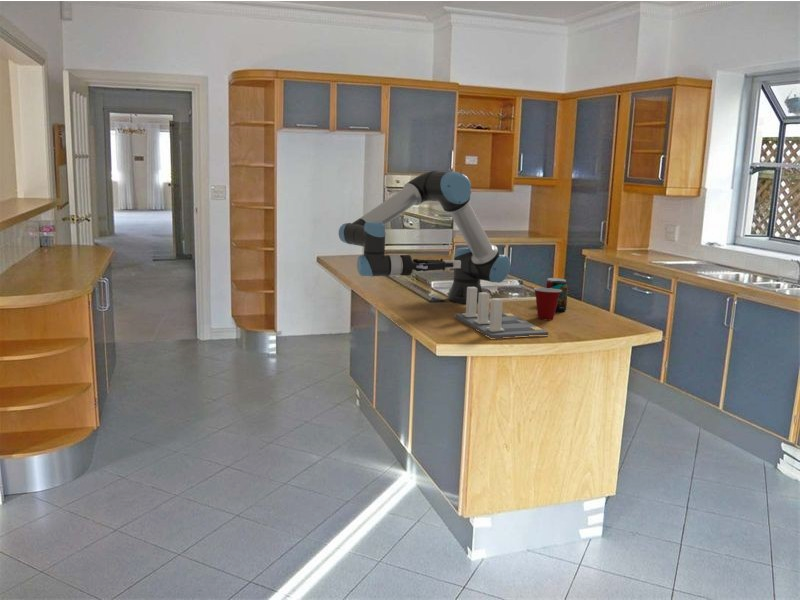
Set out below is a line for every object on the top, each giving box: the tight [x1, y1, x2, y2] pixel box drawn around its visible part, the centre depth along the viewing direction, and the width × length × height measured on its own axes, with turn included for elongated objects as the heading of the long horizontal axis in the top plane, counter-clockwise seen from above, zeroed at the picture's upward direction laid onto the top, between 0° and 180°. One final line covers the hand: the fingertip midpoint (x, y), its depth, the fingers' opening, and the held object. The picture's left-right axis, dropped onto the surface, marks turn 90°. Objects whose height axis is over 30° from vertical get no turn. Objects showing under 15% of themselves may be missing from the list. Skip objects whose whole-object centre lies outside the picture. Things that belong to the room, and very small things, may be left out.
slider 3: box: [486, 297, 504, 332], centre depth 247 cm, size 4×5×11 cm
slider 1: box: [462, 287, 478, 317], centre depth 268 cm, size 4×5×11 cm
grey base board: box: [455, 311, 549, 339], centre depth 261 cm, size 33×22×2 cm, turn 17°
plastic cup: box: [533, 287, 562, 321], centre depth 275 cm, size 11×11×12 cm
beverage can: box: [550, 281, 569, 313], centre depth 290 cm, size 7×7×12 cm
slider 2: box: [474, 291, 491, 324], centre depth 257 cm, size 4×5×11 cm
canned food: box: [545, 277, 567, 288], centre depth 302 cm, size 8×8×11 cm
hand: (460, 264), depth 263 cm, fingers closed
